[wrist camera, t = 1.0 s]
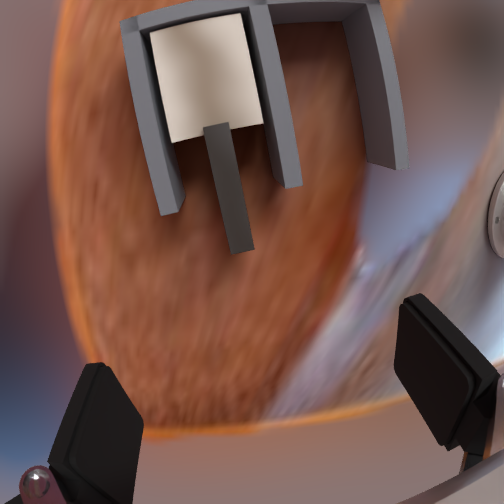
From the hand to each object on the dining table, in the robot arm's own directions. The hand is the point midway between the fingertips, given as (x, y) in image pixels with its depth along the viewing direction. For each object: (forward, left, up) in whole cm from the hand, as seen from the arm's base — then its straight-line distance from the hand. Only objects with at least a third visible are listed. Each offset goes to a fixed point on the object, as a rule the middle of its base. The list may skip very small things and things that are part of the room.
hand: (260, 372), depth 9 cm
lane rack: (-4, -9, -18) cm, 21 cm away
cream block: (0, -7, -18) cm, 19 cm away
